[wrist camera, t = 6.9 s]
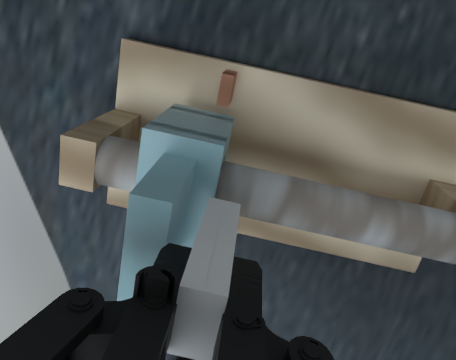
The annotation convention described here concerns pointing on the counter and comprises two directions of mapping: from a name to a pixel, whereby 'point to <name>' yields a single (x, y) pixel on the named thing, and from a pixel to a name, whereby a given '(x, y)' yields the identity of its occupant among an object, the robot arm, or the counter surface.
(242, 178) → the pipe stand
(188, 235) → the collar
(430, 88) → the counter surface
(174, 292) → the robot arm
